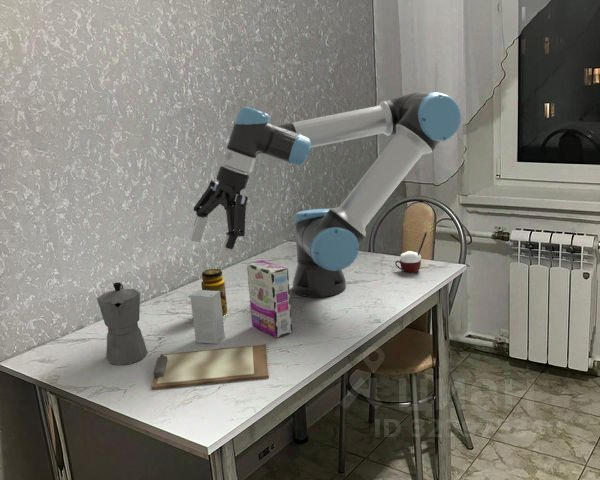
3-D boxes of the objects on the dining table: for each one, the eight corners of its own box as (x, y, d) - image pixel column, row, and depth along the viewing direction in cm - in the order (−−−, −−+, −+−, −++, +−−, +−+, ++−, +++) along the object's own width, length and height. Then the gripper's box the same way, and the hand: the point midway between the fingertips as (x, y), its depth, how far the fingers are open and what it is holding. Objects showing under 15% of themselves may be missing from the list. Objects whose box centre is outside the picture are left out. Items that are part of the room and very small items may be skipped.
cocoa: (394, 273, 199) (390, 235, 196) (402, 267, 204) (399, 230, 201) (423, 276, 194) (420, 237, 190) (431, 269, 198) (428, 231, 195)
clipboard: (265, 346, 152) (265, 339, 151) (268, 377, 136) (268, 370, 136) (160, 356, 150) (159, 349, 150) (152, 389, 135) (150, 381, 134)
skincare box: (225, 337, 159) (220, 290, 156) (217, 344, 155) (212, 296, 152) (203, 335, 161) (197, 289, 158) (194, 342, 157) (189, 295, 154)
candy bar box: (293, 332, 159) (289, 268, 155) (277, 338, 156) (271, 273, 152) (267, 320, 168) (262, 259, 163) (251, 326, 165) (245, 263, 160)
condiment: (233, 314, 173) (229, 271, 170) (204, 323, 169) (199, 278, 166) (221, 307, 179) (216, 265, 176) (192, 315, 175) (187, 272, 172)
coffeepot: (148, 365, 146) (138, 288, 142) (104, 372, 144) (92, 294, 140) (147, 339, 161) (138, 269, 156) (108, 345, 159) (97, 274, 154)
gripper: (197, 154, 168) (171, 231, 171) (252, 180, 150) (222, 266, 153) (220, 160, 173) (195, 236, 176) (276, 186, 155) (247, 270, 158)
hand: (208, 250), depth 165 cm, fingers open, 13 cm apart
